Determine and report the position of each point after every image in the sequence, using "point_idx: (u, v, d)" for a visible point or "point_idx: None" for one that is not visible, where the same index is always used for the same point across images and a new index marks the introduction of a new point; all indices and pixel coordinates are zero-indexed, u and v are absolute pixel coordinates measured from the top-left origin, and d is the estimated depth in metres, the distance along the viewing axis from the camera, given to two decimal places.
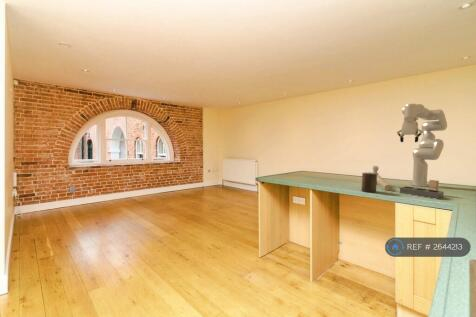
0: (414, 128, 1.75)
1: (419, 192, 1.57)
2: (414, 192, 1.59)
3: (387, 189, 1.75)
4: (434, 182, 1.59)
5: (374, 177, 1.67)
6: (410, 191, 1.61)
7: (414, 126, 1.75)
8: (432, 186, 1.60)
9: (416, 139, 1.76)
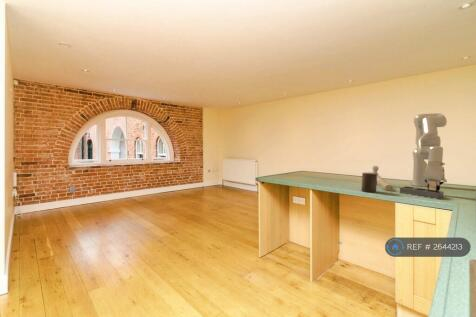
0: (440, 174, 1.56)
1: (419, 192, 1.57)
2: (414, 192, 1.59)
3: (387, 189, 1.74)
4: (434, 181, 1.59)
5: (374, 177, 1.67)
6: (410, 191, 1.61)
7: (440, 172, 1.56)
8: (431, 186, 1.61)
9: None
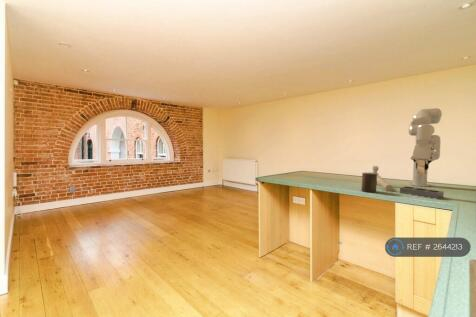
0: (428, 152, 1.53)
1: (419, 192, 1.57)
2: (414, 192, 1.59)
3: (388, 189, 1.74)
4: (423, 160, 1.56)
5: (374, 177, 1.67)
6: (410, 191, 1.61)
7: (428, 150, 1.53)
8: (420, 165, 1.58)
9: (426, 166, 1.56)
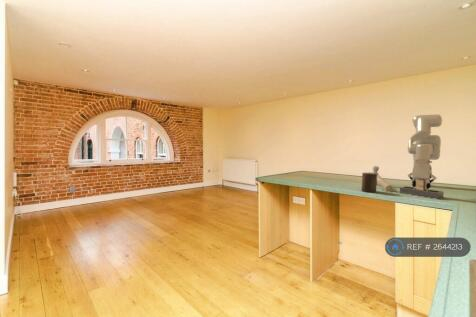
0: (427, 172, 1.54)
1: (419, 192, 1.57)
2: (414, 192, 1.59)
3: (388, 190, 1.73)
4: (421, 181, 1.57)
5: (374, 177, 1.67)
6: (410, 191, 1.61)
7: (427, 170, 1.54)
8: (419, 185, 1.59)
9: (428, 186, 1.55)
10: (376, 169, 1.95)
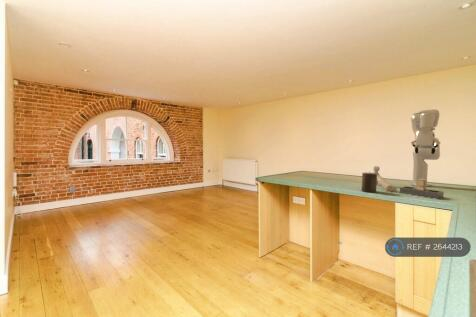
0: (431, 139, 1.64)
1: (419, 192, 1.57)
2: (414, 192, 1.59)
3: (389, 190, 1.72)
4: (421, 181, 1.57)
5: (374, 177, 1.67)
6: (410, 191, 1.61)
7: (431, 137, 1.64)
8: (419, 185, 1.59)
9: (433, 151, 1.64)
10: (377, 169, 1.94)
